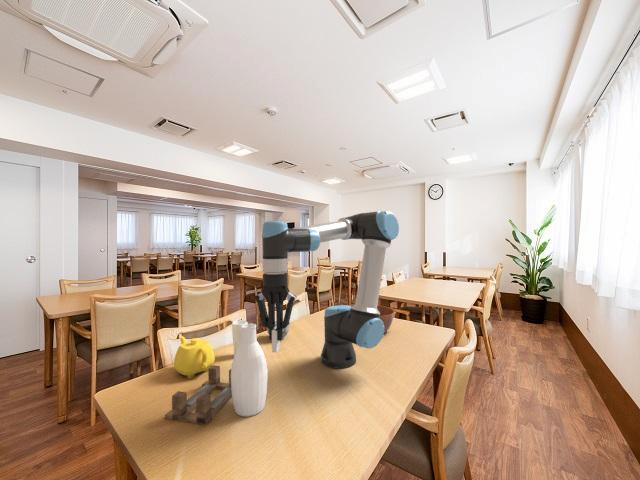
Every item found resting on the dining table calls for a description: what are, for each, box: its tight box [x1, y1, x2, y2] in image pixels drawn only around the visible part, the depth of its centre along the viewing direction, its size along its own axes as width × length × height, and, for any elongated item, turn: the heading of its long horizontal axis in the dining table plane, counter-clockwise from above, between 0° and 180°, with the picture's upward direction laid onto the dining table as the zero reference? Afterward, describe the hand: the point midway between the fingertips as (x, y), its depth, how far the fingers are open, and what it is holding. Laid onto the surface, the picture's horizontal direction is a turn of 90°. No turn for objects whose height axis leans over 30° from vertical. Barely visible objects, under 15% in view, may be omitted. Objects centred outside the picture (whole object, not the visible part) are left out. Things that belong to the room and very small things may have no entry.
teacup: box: [266, 320, 291, 340], centre depth 143 cm, size 15×12×8 cm
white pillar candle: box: [231, 319, 249, 357], centre depth 122 cm, size 7×7×15 cm
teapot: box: [173, 335, 216, 379], centre depth 108 cm, size 14×20×13 cm
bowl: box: [377, 305, 395, 334], centre depth 154 cm, size 25×25×11 cm
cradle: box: [164, 365, 232, 426], centre depth 87 cm, size 14×19×7 cm
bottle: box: [230, 323, 269, 417], centre depth 84 cm, size 11×11×25 cm
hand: (276, 350), depth 82 cm, fingers closed
